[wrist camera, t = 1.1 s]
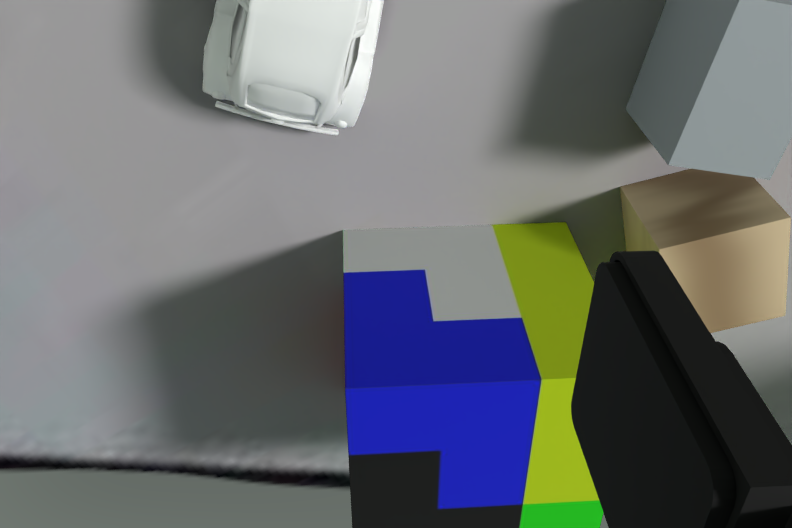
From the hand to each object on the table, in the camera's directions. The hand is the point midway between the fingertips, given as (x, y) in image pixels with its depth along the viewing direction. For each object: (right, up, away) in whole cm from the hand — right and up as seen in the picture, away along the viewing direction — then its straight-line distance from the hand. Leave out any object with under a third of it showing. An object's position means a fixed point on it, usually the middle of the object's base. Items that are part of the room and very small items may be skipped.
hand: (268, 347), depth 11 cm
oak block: (+15, +3, +24) cm, 28 cm away
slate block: (+14, +10, +19) cm, 26 cm away
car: (-1, +12, +17) cm, 21 cm away
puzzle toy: (+4, -1, +26) cm, 27 cm away
